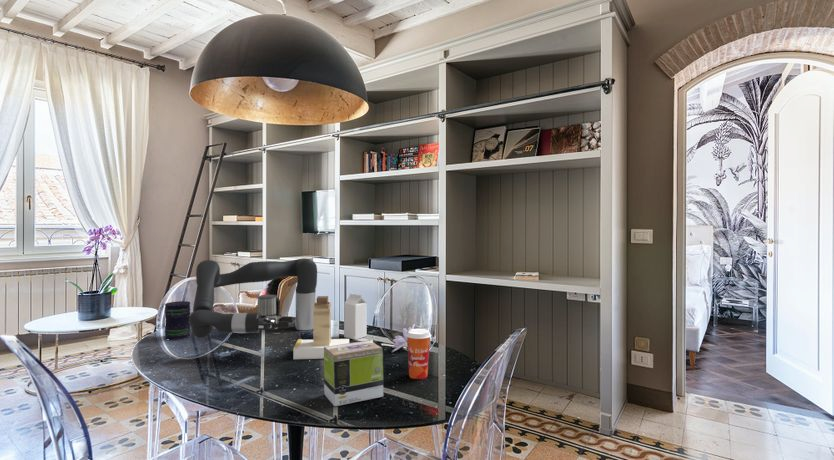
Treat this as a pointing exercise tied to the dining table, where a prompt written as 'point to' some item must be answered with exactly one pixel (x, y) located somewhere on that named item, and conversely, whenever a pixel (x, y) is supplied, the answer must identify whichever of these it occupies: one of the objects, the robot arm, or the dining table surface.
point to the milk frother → (268, 305)
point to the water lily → (401, 339)
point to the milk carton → (355, 317)
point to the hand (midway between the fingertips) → (290, 322)
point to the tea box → (353, 372)
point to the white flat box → (313, 349)
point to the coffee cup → (418, 352)
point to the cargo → (322, 300)
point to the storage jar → (177, 320)
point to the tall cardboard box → (321, 324)
